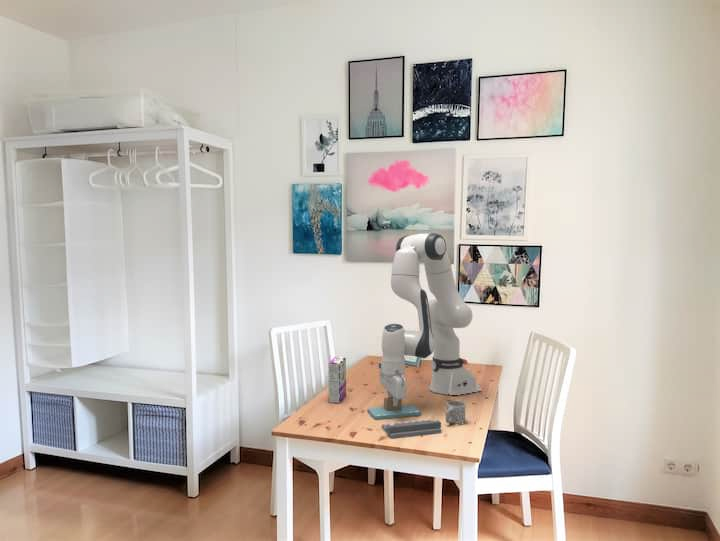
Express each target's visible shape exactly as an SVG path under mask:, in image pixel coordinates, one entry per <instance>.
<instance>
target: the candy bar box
mask: <svg viewBox="0 0 720 541" xmlns="http://www.w3.org/2000/svg"><path fill="white" fill-rule="evenodd" d="M346 396H347V358H346V356H338V355H337V356H334V357H333V358H332V359H331V360H330V361H329V362H328V403H330V404H341V403H342V401H343V400H344V399H345V397H346Z"/></svg>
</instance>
